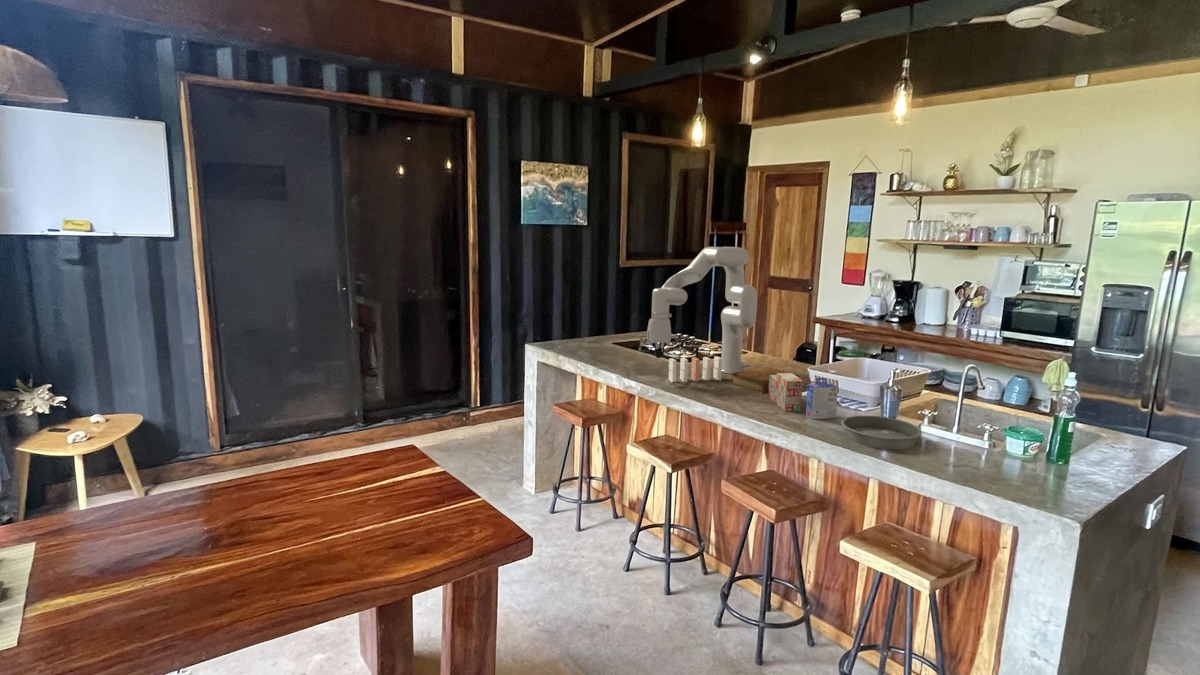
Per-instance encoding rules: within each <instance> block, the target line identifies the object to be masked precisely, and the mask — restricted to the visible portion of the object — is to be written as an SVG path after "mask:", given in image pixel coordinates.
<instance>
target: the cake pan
mask: <svg viewBox="0 0 1200 675" xmlns="http://www.w3.org/2000/svg"><path fill="white" fill-rule="evenodd" d="M840 422H841V425H842V426H843V428H844V433H845V436H846V438H848V440H850V439H851V440H850V441H853V442H854V443H857V444H859V445H863V446H866V447H872V448H875V449H883V450H884V449H885V450H904V449H909V448H912V447H914V446H915V444H916V442H917V439H918V438H919V437H920V436H921V435H922V434H923V431H922V430H921V428H920V427H918V426H917V425H915V424H913V423H910V422H908V421H904V420H901V419H898V418H893V417H886V416H878V415H851V416H847V417H845V418H843V419H841V421H840ZM856 428H858V429H877V430H884V431H888V432H883V433H882V432H881V433H871V432H870V433H869V432H868V433H866V432H860V431H858V430H856Z"/></svg>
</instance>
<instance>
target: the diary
mask: <svg viewBox="0 0 1200 675" xmlns="http://www.w3.org/2000/svg"><path fill="white" fill-rule="evenodd" d="M777 373H792V374H794V375H795V376H797V377H799V378H800V379H801V377H800V375H799V374H798V373H793V372H789V371H786V370H781V369H778V368H773V367H769V366H763V367H758V368H752V369H746V370H745V369H744V371H739V372H733V373H731V374H730V375H731V376H732V382H730V385H733V384H734V385H733V386H736V385H737V387H739V386H741V387H740V388H743V387H744V389H746V388H748V389H747V390H750V389H751V390H750V391H753V390H754V392H756V391H758V393H760V392H761V394H765V392H766V393H769V375H777Z"/></svg>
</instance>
